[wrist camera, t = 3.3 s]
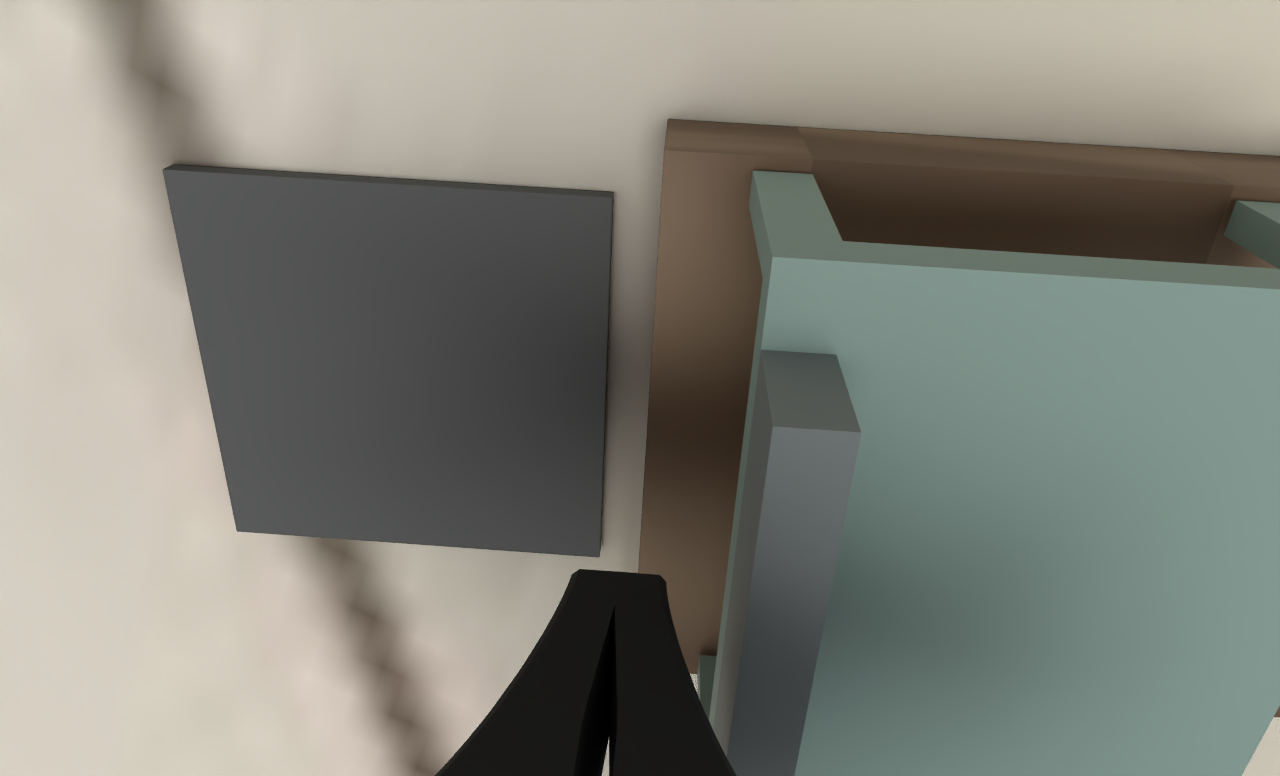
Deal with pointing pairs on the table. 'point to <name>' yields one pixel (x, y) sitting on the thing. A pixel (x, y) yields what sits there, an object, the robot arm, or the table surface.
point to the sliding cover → (1001, 509)
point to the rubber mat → (402, 354)
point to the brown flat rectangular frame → (872, 213)
